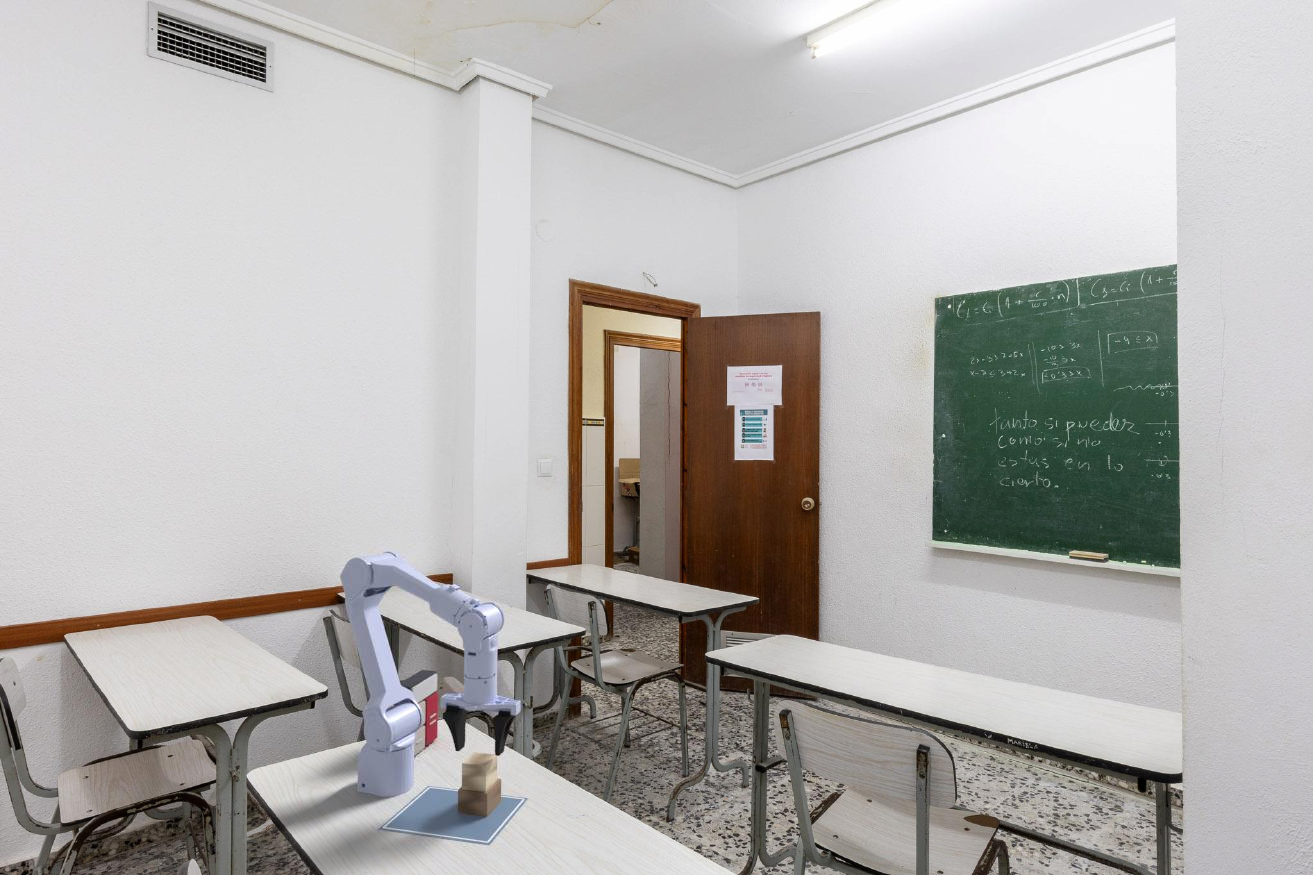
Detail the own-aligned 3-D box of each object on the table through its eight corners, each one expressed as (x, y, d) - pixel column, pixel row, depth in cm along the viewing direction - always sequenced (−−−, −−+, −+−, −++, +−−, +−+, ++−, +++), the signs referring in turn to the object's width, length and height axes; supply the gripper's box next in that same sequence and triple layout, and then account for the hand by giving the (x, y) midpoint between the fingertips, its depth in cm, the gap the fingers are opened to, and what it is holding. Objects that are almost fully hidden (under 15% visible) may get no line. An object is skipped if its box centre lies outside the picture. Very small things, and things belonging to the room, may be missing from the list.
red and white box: (412, 760, 145) (413, 686, 145) (393, 758, 146) (394, 685, 146) (439, 739, 156) (440, 670, 156) (421, 737, 157) (422, 669, 157)
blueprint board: (378, 833, 117) (378, 828, 117) (428, 790, 133) (428, 785, 133) (489, 849, 113) (489, 844, 113) (528, 802, 128) (528, 797, 128)
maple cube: (461, 789, 123) (462, 763, 123) (473, 777, 127) (473, 752, 127) (485, 791, 122) (486, 765, 122) (497, 780, 126) (497, 754, 127)
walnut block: (457, 813, 123) (458, 789, 123) (472, 797, 128) (473, 775, 128) (487, 816, 121) (487, 793, 122) (501, 801, 127) (501, 778, 127)
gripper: (431, 677, 123) (430, 756, 123) (508, 684, 120) (507, 765, 120) (452, 665, 130) (451, 739, 130) (525, 671, 127) (524, 748, 127)
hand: (479, 751), depth 125 cm, fingers open, 7 cm apart
